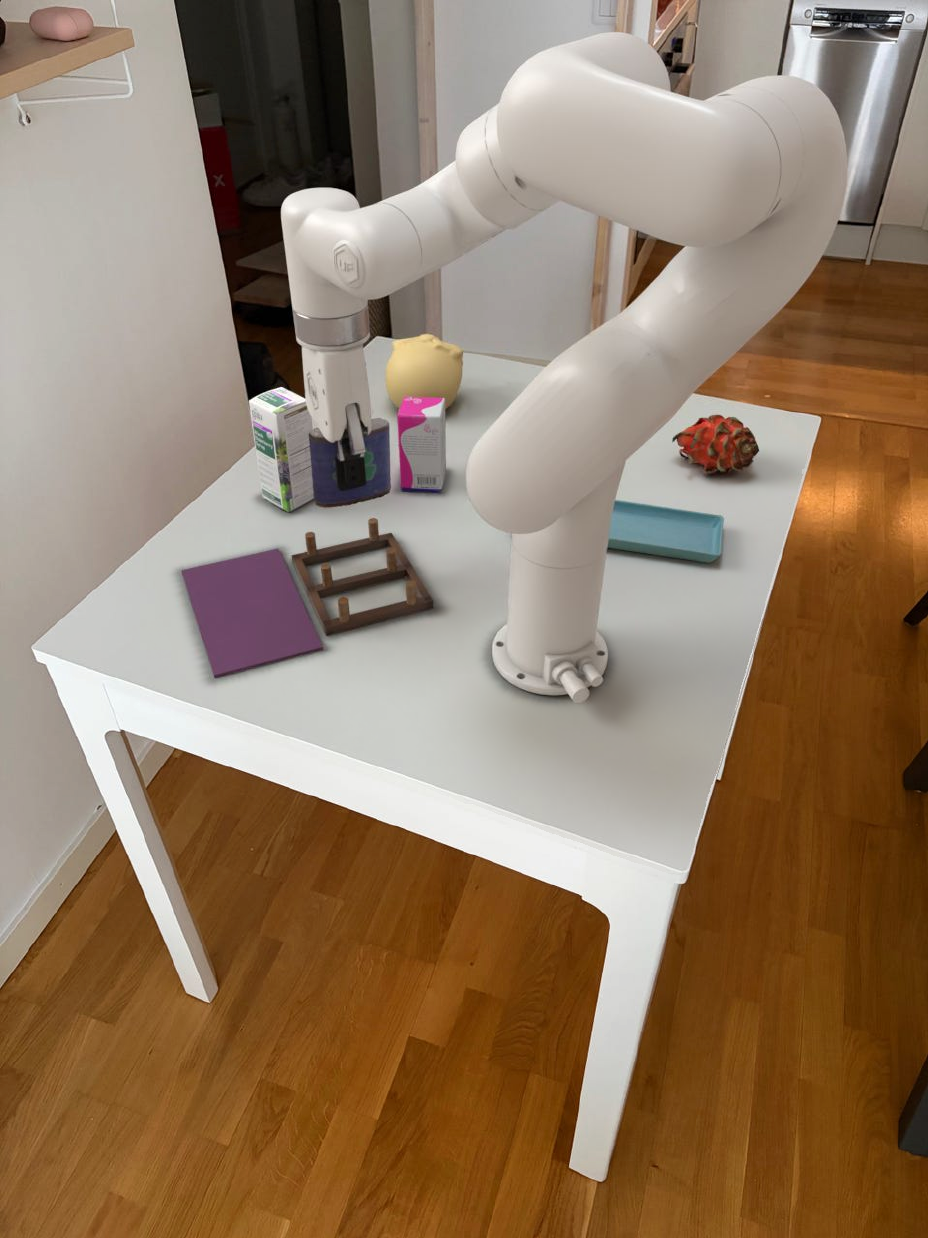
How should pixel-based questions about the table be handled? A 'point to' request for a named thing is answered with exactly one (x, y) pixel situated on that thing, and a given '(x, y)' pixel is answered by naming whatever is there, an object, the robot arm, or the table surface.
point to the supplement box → (422, 444)
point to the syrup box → (283, 447)
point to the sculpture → (424, 369)
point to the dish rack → (360, 581)
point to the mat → (249, 612)
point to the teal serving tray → (666, 531)
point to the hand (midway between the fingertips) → (347, 478)
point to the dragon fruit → (718, 444)
